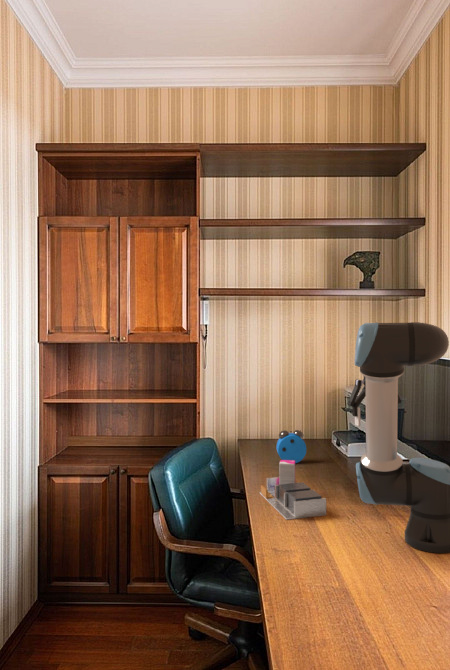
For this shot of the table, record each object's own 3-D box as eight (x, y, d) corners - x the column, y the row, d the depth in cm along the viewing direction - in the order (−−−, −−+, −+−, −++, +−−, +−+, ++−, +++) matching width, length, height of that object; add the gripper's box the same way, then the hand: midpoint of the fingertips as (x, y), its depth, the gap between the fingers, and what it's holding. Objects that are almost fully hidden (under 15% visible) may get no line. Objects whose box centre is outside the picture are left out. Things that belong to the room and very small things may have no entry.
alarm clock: (304, 460, 247) (304, 428, 247) (307, 464, 241) (306, 431, 241) (276, 461, 247) (275, 429, 247) (278, 464, 241) (277, 431, 240)
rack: (326, 515, 176) (326, 497, 176) (286, 519, 172) (285, 501, 172) (294, 489, 204) (294, 474, 204) (259, 493, 200) (259, 477, 200)
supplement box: (295, 495, 194) (294, 463, 194) (278, 494, 195) (278, 463, 195) (296, 490, 200) (295, 459, 200) (280, 489, 201) (279, 459, 201)
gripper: (398, 363, 198) (399, 420, 198) (337, 366, 192) (338, 424, 192) (410, 364, 191) (411, 423, 191) (346, 367, 185) (348, 428, 185)
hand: (374, 424), depth 192 cm, fingers open, 13 cm apart
